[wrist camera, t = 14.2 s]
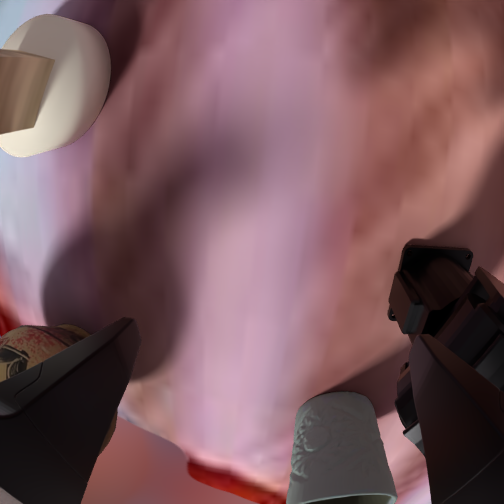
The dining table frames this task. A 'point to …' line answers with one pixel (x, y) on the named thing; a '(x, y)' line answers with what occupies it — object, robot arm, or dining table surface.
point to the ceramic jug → (39, 351)
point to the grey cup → (339, 453)
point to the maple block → (21, 88)
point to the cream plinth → (62, 82)
